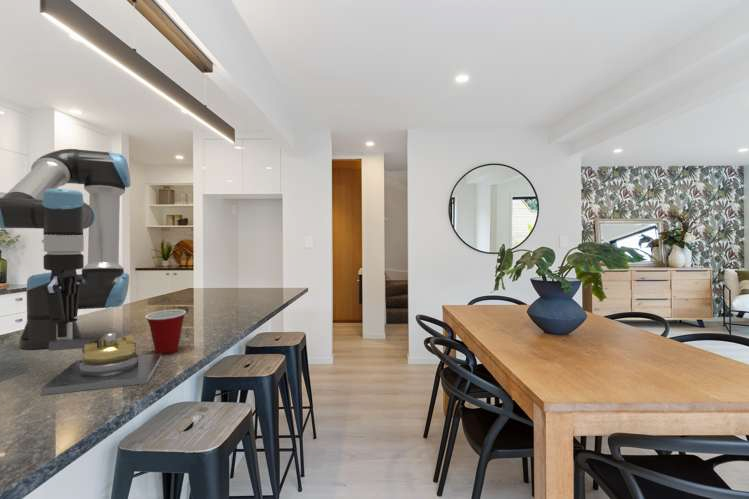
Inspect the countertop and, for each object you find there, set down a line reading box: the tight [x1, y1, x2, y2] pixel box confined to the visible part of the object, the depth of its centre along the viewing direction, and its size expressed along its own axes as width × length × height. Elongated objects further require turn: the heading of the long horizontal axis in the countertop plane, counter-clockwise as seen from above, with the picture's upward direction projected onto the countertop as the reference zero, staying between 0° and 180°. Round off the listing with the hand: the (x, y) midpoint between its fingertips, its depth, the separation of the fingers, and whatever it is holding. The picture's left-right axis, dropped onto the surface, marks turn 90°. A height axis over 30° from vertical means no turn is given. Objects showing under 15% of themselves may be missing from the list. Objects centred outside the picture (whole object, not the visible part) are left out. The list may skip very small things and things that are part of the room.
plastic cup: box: [144, 308, 187, 355], centre depth 113 cm, size 11×11×12 cm
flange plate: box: [40, 352, 163, 396], centre depth 93 cm, size 20×20×4 cm
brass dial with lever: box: [48, 331, 137, 364], centre depth 92 cm, size 18×11×6 cm, turn 109°
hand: (64, 349), depth 91 cm, fingers closed
